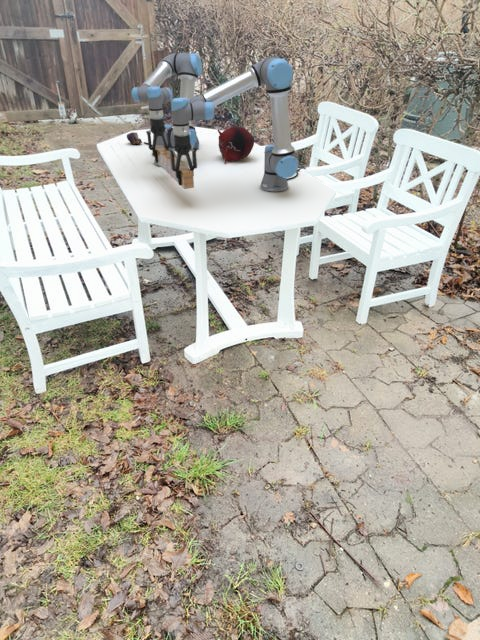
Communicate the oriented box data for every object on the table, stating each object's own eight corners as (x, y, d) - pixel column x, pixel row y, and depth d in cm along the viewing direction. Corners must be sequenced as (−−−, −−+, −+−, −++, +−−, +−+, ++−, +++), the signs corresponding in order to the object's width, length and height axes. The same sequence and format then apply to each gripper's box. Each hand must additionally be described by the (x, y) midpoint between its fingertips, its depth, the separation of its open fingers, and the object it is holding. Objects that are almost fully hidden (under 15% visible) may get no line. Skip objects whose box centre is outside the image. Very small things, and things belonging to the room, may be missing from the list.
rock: (138, 143, 345) (126, 144, 341) (137, 131, 341) (124, 132, 337) (143, 144, 336) (130, 145, 331) (141, 131, 332) (128, 132, 328)
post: (154, 160, 265) (153, 146, 260) (163, 159, 266) (161, 145, 262) (184, 189, 219) (183, 172, 215) (194, 187, 221) (192, 171, 217)
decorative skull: (215, 132, 306) (215, 129, 282) (249, 124, 305) (251, 121, 281) (222, 164, 313) (222, 164, 289) (255, 157, 312) (258, 156, 288)
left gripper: (142, 121, 242) (148, 164, 255) (174, 117, 248) (178, 160, 261) (138, 118, 247) (144, 161, 261) (170, 115, 253) (174, 157, 267)
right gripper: (165, 138, 205) (170, 188, 219) (202, 134, 211) (205, 183, 225) (160, 134, 211) (165, 184, 224) (197, 131, 217) (199, 179, 230)
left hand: (161, 161), depth 261 cm, fingers closed on post, 5 cm apart
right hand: (185, 183), depth 224 cm, fingers closed on post, 5 cm apart
